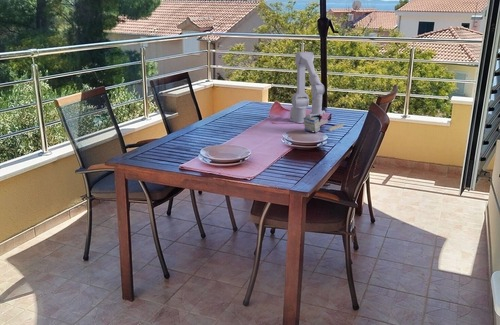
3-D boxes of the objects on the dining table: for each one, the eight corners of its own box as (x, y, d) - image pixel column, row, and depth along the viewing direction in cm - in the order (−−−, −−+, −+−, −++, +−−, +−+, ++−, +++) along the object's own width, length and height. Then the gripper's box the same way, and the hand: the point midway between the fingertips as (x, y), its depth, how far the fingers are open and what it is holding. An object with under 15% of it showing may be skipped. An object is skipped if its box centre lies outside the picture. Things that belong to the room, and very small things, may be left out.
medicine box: (304, 130, 293) (303, 118, 288) (309, 127, 295) (307, 114, 291) (315, 133, 288) (314, 120, 283) (320, 129, 291) (318, 117, 286)
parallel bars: (312, 126, 302) (312, 123, 301) (326, 122, 311) (326, 119, 310) (329, 131, 293) (330, 127, 293) (343, 126, 303) (343, 123, 302)
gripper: (314, 108, 281) (313, 131, 285) (329, 104, 291) (328, 126, 295) (305, 106, 285) (303, 128, 290) (320, 102, 295) (318, 124, 300)
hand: (315, 127), depth 293 cm, fingers closed
